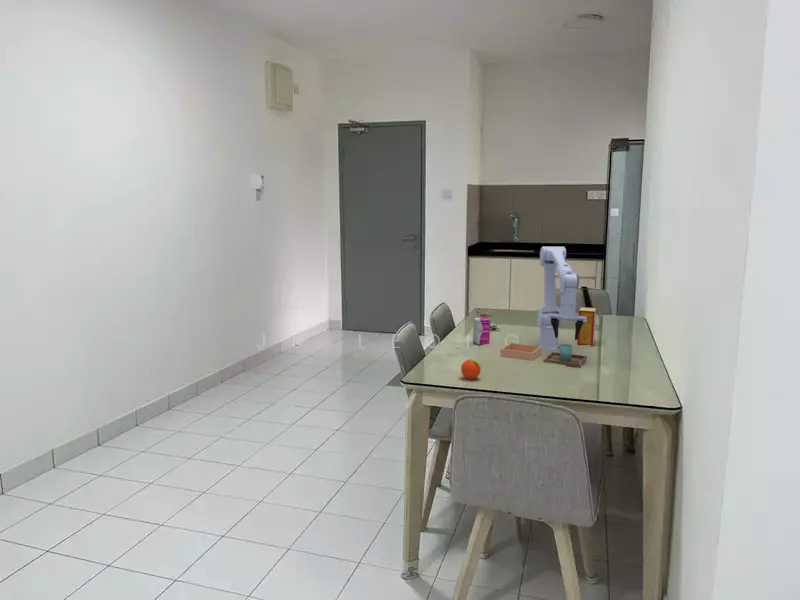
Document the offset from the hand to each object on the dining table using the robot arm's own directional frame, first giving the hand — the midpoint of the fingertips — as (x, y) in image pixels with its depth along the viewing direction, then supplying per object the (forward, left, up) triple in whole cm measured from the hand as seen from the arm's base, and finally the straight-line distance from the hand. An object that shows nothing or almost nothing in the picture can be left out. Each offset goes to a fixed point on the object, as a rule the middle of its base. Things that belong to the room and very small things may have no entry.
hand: (566, 338), depth 241 cm
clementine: (+41, -24, -10) cm, 49 cm away
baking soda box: (-37, +1, -10) cm, 38 cm away
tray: (0, 0, -9) cm, 9 cm away
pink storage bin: (0, -18, -9) cm, 20 cm away
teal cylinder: (0, 0, -9) cm, 9 cm away
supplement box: (-13, -40, -10) cm, 43 cm away
